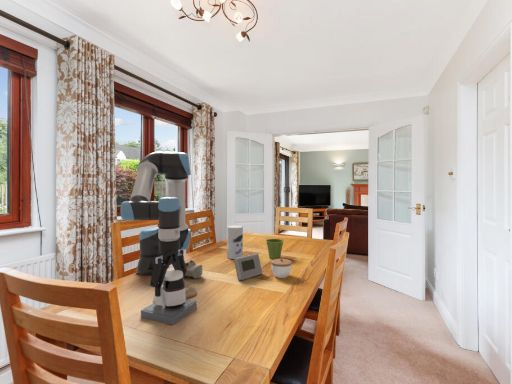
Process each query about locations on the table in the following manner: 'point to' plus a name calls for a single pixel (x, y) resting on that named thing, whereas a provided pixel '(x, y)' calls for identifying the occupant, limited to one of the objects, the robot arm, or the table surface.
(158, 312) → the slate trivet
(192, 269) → the ceramic sculpture
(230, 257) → the container
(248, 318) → the table surface
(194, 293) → the oak coaster
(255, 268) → the digital clock
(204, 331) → the table surface
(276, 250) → the plant pot
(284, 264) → the lidded jar
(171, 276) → the spread jar
